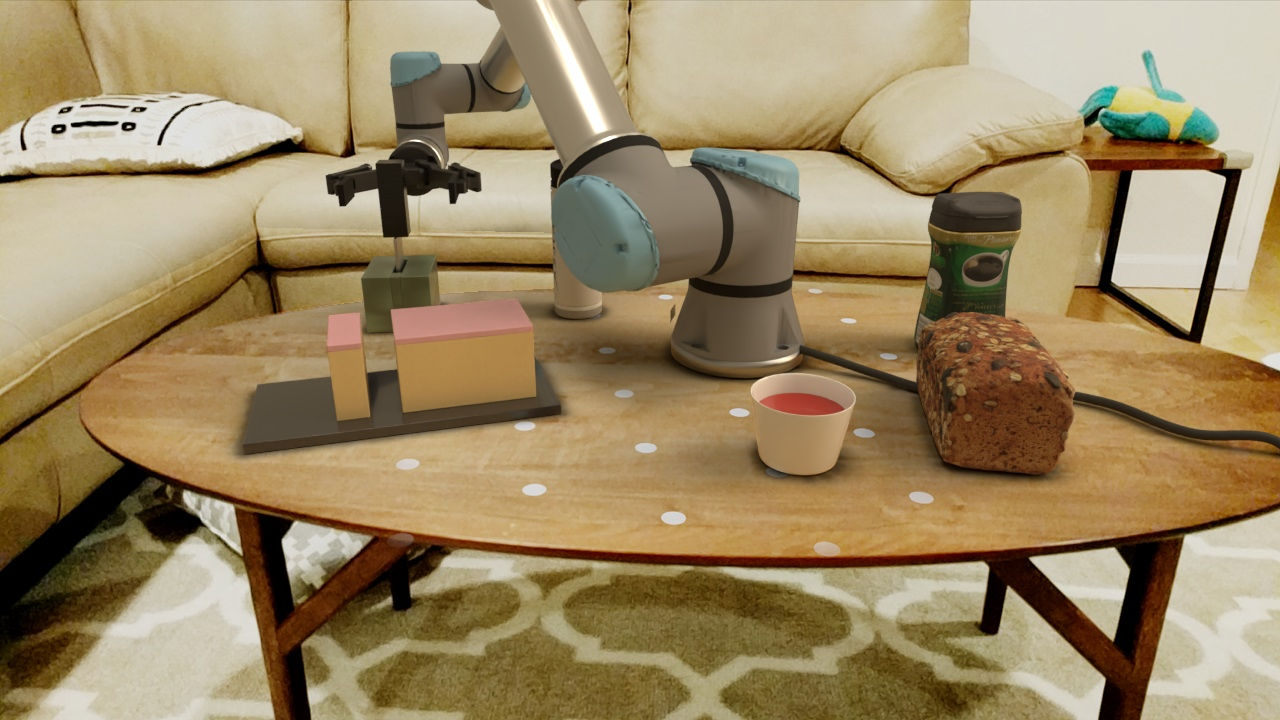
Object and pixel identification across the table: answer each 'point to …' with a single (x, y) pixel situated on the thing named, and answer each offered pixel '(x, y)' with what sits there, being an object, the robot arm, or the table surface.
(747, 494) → the table surface
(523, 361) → the cake loaf
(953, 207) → the coffee jar
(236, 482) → the table surface
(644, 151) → the robot arm
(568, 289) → the travel mug
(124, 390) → the table surface
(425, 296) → the knife block
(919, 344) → the bread
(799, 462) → the candle
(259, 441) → the cake board
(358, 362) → the cake slice
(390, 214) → the kitchen knife
